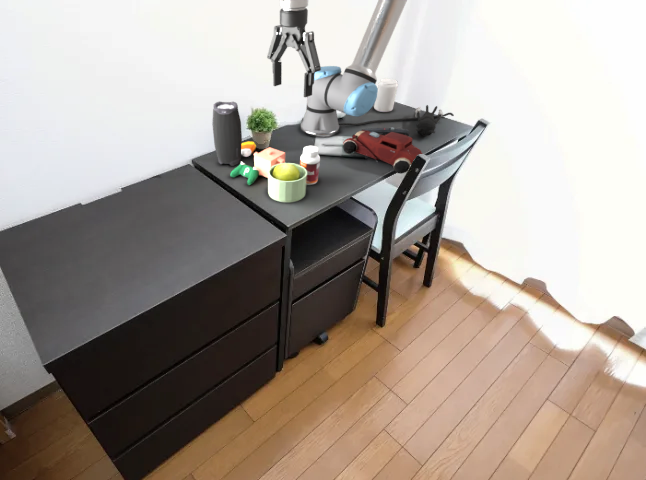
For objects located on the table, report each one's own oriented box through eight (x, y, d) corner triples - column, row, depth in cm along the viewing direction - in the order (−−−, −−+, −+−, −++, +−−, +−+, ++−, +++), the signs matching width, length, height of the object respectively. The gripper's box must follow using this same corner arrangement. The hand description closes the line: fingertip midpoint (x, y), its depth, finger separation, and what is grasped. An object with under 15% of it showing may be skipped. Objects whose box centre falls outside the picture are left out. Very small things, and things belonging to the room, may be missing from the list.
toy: (414, 113, 167) (407, 137, 145) (418, 97, 163) (411, 120, 141) (441, 116, 163) (437, 142, 142) (445, 101, 159) (442, 125, 138)
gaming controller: (254, 188, 123) (263, 172, 123) (248, 184, 120) (257, 167, 119) (234, 179, 128) (242, 163, 127) (228, 175, 124) (236, 158, 124)
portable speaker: (213, 158, 135) (207, 102, 122) (237, 153, 138) (234, 98, 125) (221, 169, 129) (215, 111, 116) (246, 163, 132) (244, 106, 119)
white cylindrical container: (394, 108, 169) (401, 79, 161) (389, 114, 164) (395, 85, 156) (377, 105, 172) (382, 77, 164) (371, 110, 167) (376, 82, 159)
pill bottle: (295, 183, 122) (297, 151, 114) (302, 174, 126) (304, 143, 119) (314, 187, 120) (317, 154, 112) (320, 178, 124) (323, 146, 117)
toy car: (359, 141, 143) (365, 115, 137) (429, 167, 129) (439, 139, 123) (337, 153, 135) (342, 126, 128) (409, 182, 121) (419, 153, 114)
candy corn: (255, 140, 138) (251, 151, 133) (257, 147, 140) (253, 158, 135) (240, 141, 140) (235, 152, 134) (242, 149, 142) (237, 160, 136)
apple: (290, 199, 114) (293, 177, 108) (266, 187, 118) (268, 165, 112) (305, 188, 118) (308, 166, 112) (281, 176, 122) (283, 155, 116)
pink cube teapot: (261, 163, 132) (261, 141, 127) (289, 174, 126) (290, 150, 121) (247, 172, 128) (246, 149, 122) (275, 183, 122) (275, 159, 116)
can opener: (407, 140, 144) (411, 126, 140) (406, 148, 139) (410, 134, 135) (360, 134, 148) (363, 120, 144) (358, 141, 143) (360, 127, 140)
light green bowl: (288, 179, 124) (289, 159, 119) (313, 193, 117) (315, 173, 112) (260, 190, 119) (260, 170, 114) (284, 206, 112) (285, 186, 107)
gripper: (253, 4, 107) (257, 83, 121) (317, 16, 92) (312, 104, 106) (274, 1, 110) (274, 78, 125) (338, 11, 96) (330, 97, 110)
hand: (292, 90), depth 116 cm, fingers open, 13 cm apart
